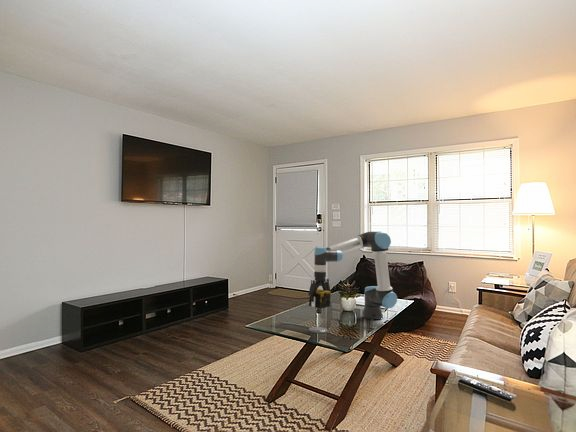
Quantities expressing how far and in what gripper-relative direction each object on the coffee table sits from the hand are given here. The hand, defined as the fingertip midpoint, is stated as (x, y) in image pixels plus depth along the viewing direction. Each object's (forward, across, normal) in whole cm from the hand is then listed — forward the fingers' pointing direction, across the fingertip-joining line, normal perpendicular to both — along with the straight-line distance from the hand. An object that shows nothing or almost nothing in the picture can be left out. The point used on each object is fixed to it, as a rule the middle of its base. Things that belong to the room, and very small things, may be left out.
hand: (319, 305), depth 220 cm
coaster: (+16, 0, -1) cm, 16 cm away
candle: (+1, 0, 0) cm, 1 cm away
